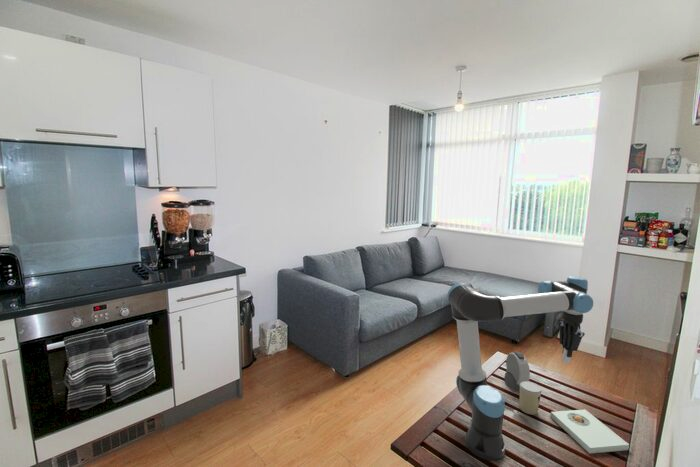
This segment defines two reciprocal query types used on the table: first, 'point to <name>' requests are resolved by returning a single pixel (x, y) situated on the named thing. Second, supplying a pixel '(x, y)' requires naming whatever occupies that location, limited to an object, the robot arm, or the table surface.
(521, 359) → the alarm clock
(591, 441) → the plate
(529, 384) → the coffee cup
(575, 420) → the ball
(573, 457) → the table surface
